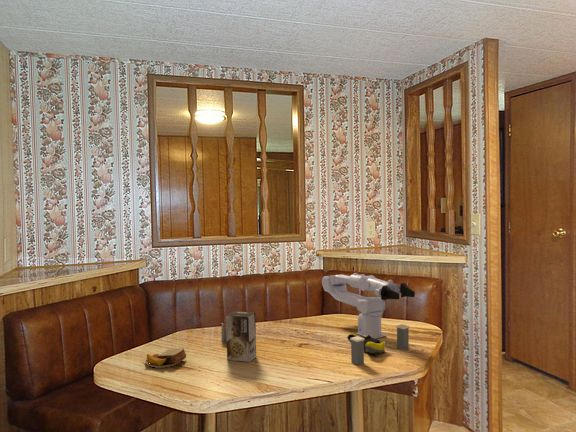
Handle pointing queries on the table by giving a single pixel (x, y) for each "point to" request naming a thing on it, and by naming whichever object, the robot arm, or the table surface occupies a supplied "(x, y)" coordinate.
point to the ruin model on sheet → (224, 332)
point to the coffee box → (241, 336)
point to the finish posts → (358, 342)
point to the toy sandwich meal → (166, 358)
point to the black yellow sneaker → (370, 344)
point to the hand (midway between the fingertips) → (406, 295)
